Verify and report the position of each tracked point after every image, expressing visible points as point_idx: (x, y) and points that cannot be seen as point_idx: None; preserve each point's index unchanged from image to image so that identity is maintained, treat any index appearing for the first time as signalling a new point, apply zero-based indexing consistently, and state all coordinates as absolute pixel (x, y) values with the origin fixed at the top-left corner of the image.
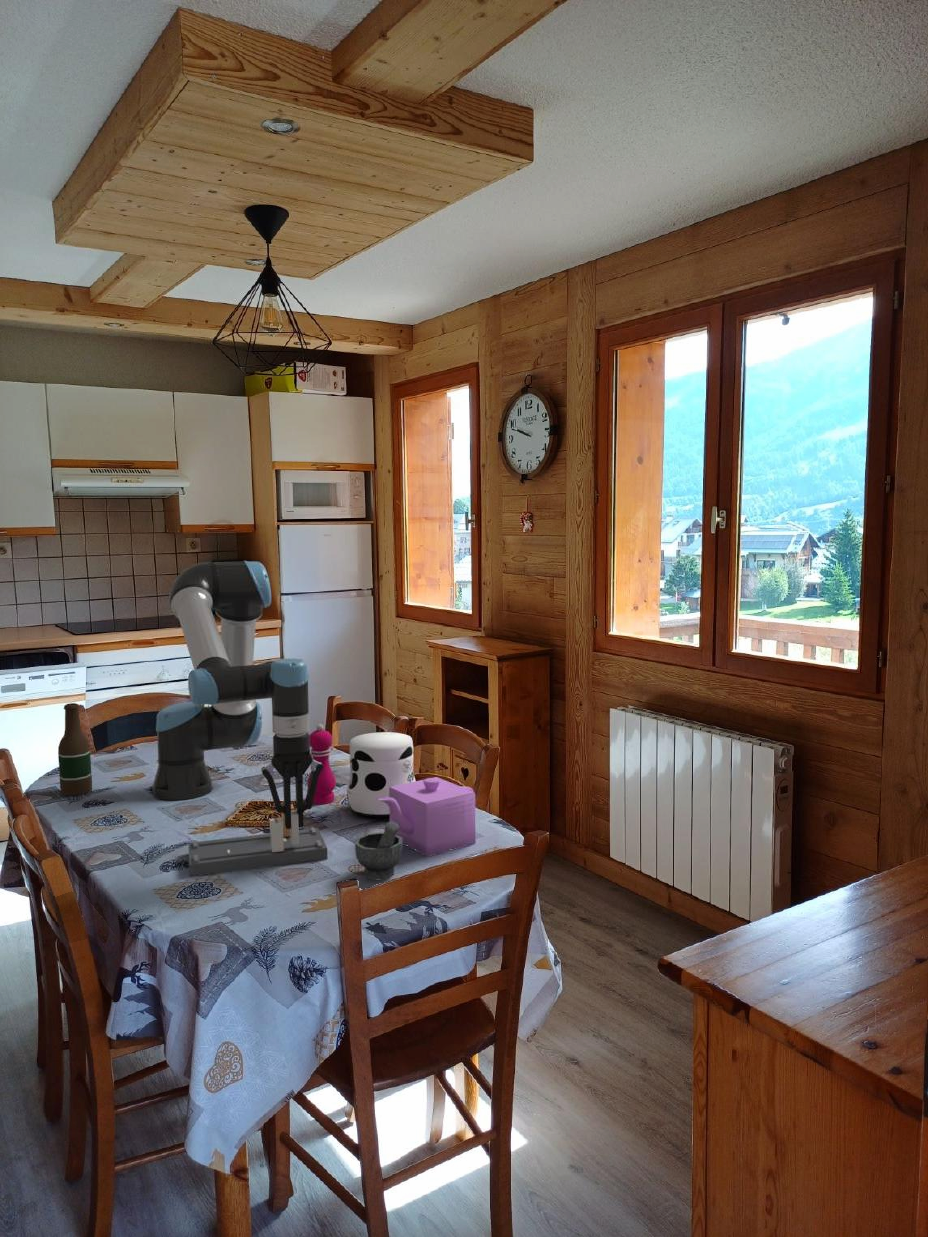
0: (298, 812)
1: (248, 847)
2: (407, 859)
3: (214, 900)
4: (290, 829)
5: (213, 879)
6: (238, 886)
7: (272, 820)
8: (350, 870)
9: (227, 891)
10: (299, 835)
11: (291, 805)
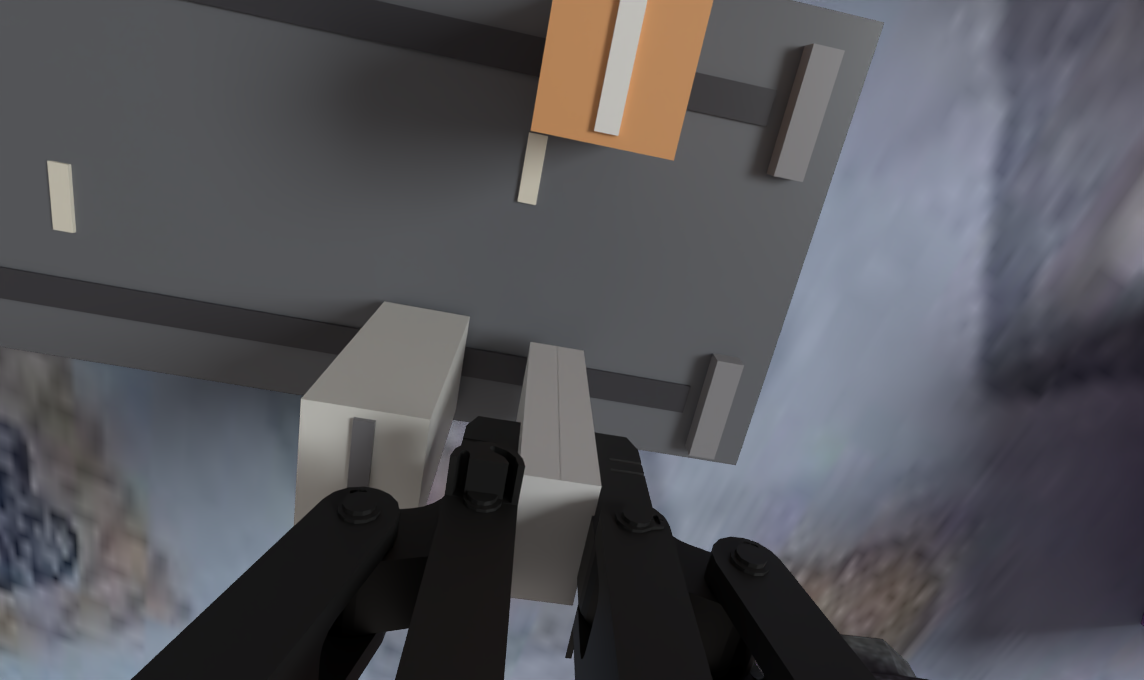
0: (567, 652)
1: (225, 186)
2: (1048, 611)
3: (47, 632)
4: (522, 408)
5: (26, 399)
6: (170, 542)
7: (322, 456)
8: None
9: (111, 571)
10: None
11: (688, 23)
